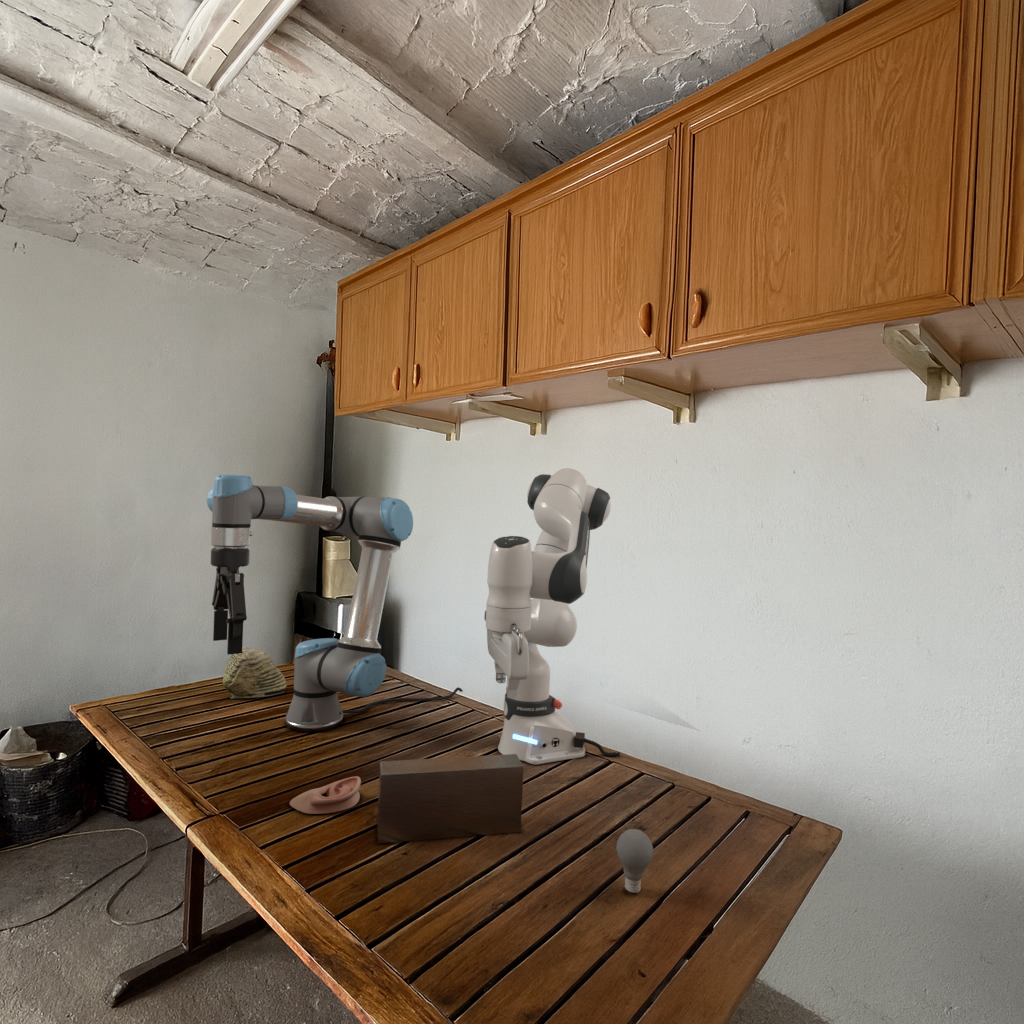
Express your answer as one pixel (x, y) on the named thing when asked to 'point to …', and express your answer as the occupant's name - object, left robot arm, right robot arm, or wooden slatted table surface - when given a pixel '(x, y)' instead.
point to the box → (449, 797)
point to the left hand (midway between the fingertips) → (227, 646)
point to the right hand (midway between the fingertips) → (505, 689)
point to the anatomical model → (329, 797)
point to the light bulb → (634, 857)
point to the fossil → (252, 675)
